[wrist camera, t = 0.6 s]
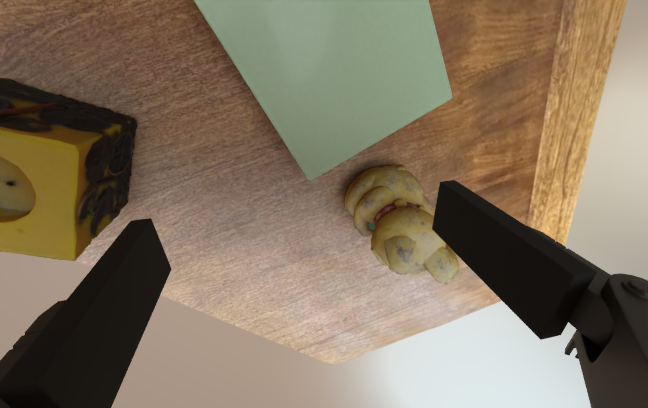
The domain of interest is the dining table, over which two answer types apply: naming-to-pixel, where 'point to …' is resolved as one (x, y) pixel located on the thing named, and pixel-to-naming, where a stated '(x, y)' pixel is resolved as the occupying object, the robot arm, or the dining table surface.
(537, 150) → the dining table surface
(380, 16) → the cabinet
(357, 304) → the dining table surface
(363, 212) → the decorative figurine
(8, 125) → the candle
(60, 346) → the robot arm
